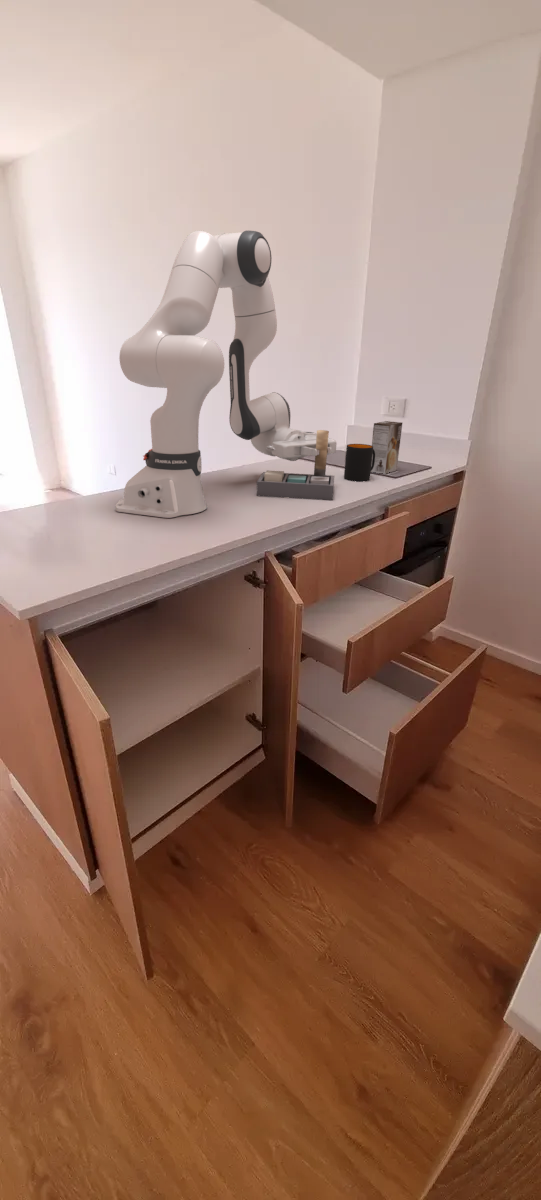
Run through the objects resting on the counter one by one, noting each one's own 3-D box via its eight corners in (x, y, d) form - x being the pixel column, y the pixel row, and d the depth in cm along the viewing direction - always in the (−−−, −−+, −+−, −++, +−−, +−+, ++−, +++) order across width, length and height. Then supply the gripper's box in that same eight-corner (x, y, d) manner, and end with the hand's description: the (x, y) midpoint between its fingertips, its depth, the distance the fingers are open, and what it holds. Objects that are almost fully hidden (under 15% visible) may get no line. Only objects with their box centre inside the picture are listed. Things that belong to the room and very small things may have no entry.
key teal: (287, 489, 147) (287, 478, 145) (288, 485, 151) (289, 475, 150) (304, 490, 146) (305, 479, 145) (305, 486, 151) (306, 475, 149)
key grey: (310, 490, 146) (310, 480, 145) (311, 486, 150) (311, 476, 149) (327, 491, 145) (328, 481, 144) (328, 487, 150) (329, 477, 149)
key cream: (264, 484, 147) (264, 474, 145) (266, 480, 151) (266, 470, 150) (281, 485, 146) (282, 474, 145) (283, 481, 151) (284, 471, 149)
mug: (382, 478, 169) (386, 445, 165) (357, 482, 162) (361, 448, 158) (363, 473, 175) (366, 442, 171) (338, 478, 168) (341, 445, 164)
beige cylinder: (313, 476, 145) (316, 431, 140) (314, 473, 148) (317, 429, 142) (325, 477, 144) (328, 432, 139) (325, 474, 147) (328, 430, 142)
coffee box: (380, 468, 185) (385, 420, 178) (397, 470, 181) (403, 422, 174) (368, 472, 178) (373, 422, 171) (385, 474, 174) (391, 424, 168)
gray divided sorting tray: (256, 495, 144) (257, 481, 143) (263, 485, 156) (263, 471, 154) (332, 500, 142) (333, 485, 140) (333, 489, 154) (334, 475, 152)
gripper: (263, 435, 145) (295, 442, 135) (317, 432, 157) (350, 438, 147) (262, 458, 148) (294, 467, 138) (315, 453, 159) (348, 460, 150)
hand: (323, 452), depth 143 cm, fingers closed on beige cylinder, 3 cm apart
